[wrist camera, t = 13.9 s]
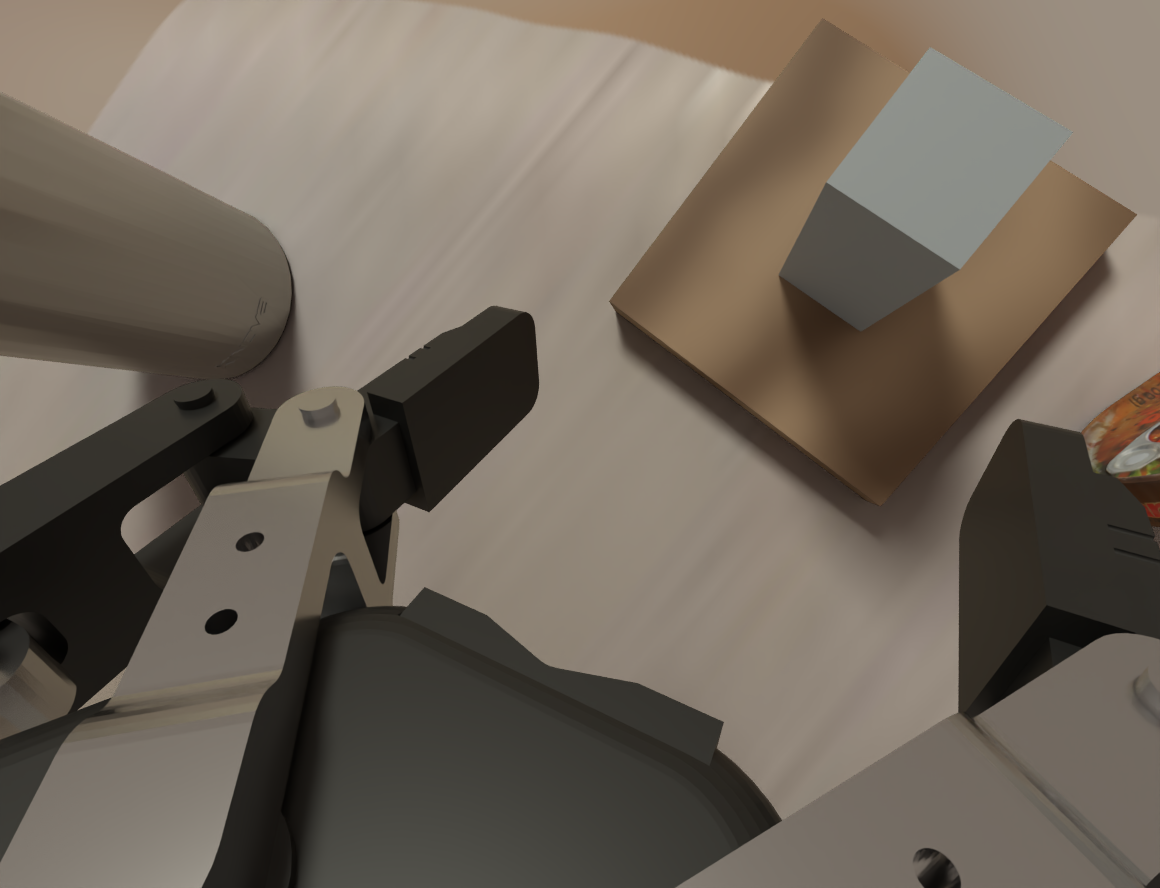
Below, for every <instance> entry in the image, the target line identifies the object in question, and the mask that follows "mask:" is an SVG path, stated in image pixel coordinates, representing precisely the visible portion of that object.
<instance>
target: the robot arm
mask: <svg viewBox="0 0 1160 888" xmlns="http://www.w3.org/2000/svg"><path fill="white" fill-rule="evenodd" d="M291 295H292V290H291V275H290V271H289V267H288V264H287V260H286V256H285V254H284V252H283V250H282V248H281V246H280V244H279V242H278V241H277V239H276V238H275V237H274V236H273V234H272V233H271V232H270V230H269V229H268V228H267V227H266V226H265V225H263V224H262V223H261V222H260V221H258V220H257V219H256V218H255V217H253V216H251V215H249V214H246V213H244V212H242V211H240V210H238V209H236V208H234V207H232V206H230V205H228V204H226V203H224V202H222V201H220V200H218V199H216V198H214V197H212V196H210V195H208V194H206V193H204V192H202V191H200V190H198V189H196V188H194V187H192V186H190V185H189V184H187V183H185V182H183V181H181V180H179V179H177V178H175V177H173V176H171V175H169V174H167V173H165V172H163V171H161V170H159V169H157V168H155V167H153V166H151V165H149V164H147V163H145V162H143V161H140V160H138V159H136V158H134V157H132V156H130V155H128V154H126V153H124V152H122V151H120V150H118V149H116V148H114V147H112V146H110V145H108V144H106V143H104V142H102V141H100V140H98V139H96V138H94V137H92V136H90V135H88V134H86V133H84V132H82V131H80V130H78V129H76V128H74V127H72V126H69V125H67V124H66V123H64V122H62V121H60V120H57V119H55V118H53V117H51V116H49V115H47V114H45V113H43V112H41V111H39V110H37V109H35V108H33V107H31V106H29V105H27V104H25V103H23V102H21V101H19V100H17V99H15V98H13V97H11V96H9V95H7V94H5V93H3V92H1V91H0V356H8V357H17V358H26V359H34V360H43V361H52V362H60V363H69V364H78V365H86V366H95V367H104V368H112V369H121V370H130V371H138V372H146V373H154V374H163V375H172V376H181V377H190V378H198V379H209V380H202V381H197V382H193V383H189V384H186V385H183V386H181V387H178V388H176V389H174V390H172V391H170V392H168V393H166V394H164V395H162V396H161V397H159V398H157V399H155V400H153V401H152V402H150V403H148V404H146V405H144V406H143V407H141V408H139V409H137V410H135V411H134V412H132V413H130V414H128V415H126V416H125V417H123V418H121V419H119V420H118V421H116V422H114V423H112V424H110V425H109V426H107V427H105V428H103V429H101V430H100V431H98V432H96V433H94V434H92V435H91V436H89V437H87V438H85V439H83V440H82V441H80V442H78V443H76V444H74V445H73V446H71V447H69V448H67V449H65V450H64V451H62V452H60V453H58V454H56V455H55V456H53V457H51V458H49V459H48V460H46V461H44V462H42V463H40V464H39V465H37V466H35V467H33V468H31V469H30V470H28V471H26V472H24V473H22V474H21V475H19V476H17V477H15V478H13V479H12V480H10V481H8V482H6V483H4V484H3V485H1V486H0V888H1160V550H1159V547H1158V544H1157V542H1154V541H1153V539H1154V537H1155V535H1154V532H1153V529H1152V526H1151V524H1150V521H1149V518H1148V515H1147V512H1146V509H1145V507H1144V506H1143V505H1142V504H1141V503H1140V502H1139V500H1138V499H1137V498H1136V497H1135V496H1134V495H1133V494H1132V493H1131V492H1130V491H1129V490H1128V489H1127V488H1126V487H1125V486H1124V485H1123V484H1122V483H1121V482H1120V481H1119V480H1118V478H1116V477H1111V476H1107V475H1103V474H1099V473H1094V472H1093V469H1092V465H1091V461H1090V458H1089V454H1088V450H1087V446H1086V442H1085V439H1084V436H1083V434H1082V433H1080V432H1076V431H1072V430H1067V429H1062V428H1058V427H1053V426H1048V425H1044V424H1039V423H1034V422H1030V421H1025V420H1021V419H1017V420H1015V421H1014V422H1013V423H1012V424H1011V425H1010V426H1009V428H1008V429H1007V431H1006V433H1005V434H1004V436H1003V438H1002V440H1001V442H1000V444H999V446H998V447H997V449H996V451H995V453H994V455H993V457H992V459H991V461H990V462H989V464H988V466H987V468H986V470H985V472H984V474H983V476H982V477H981V479H980V481H979V483H978V485H977V487H976V489H975V491H974V492H973V494H972V496H971V498H970V500H969V503H968V505H967V507H966V510H965V513H964V516H963V520H962V524H961V529H960V537H959V706H958V713H956V714H954V715H952V716H950V717H948V718H946V719H944V720H943V721H941V722H939V723H938V724H936V725H934V726H933V727H931V728H930V729H928V730H926V731H925V732H923V733H922V734H920V735H918V736H917V737H915V738H914V739H912V740H910V741H909V742H907V743H906V744H904V745H902V746H901V747H899V748H898V749H896V750H894V751H893V752H891V753H890V754H888V755H886V756H885V757H883V758H882V759H880V760H878V761H877V762H875V763H874V764H872V765H870V766H869V767H867V768H866V769H864V770H862V771H861V772H859V773H858V774H856V775H854V776H853V777H851V778H850V779H848V780H846V781H845V782H843V783H842V784H840V785H838V786H837V787H835V788H834V789H832V790H830V791H829V792H827V793H826V794H824V795H822V796H821V797H819V798H818V799H816V800H814V801H813V802H811V803H810V804H808V805H807V806H805V807H803V808H802V809H800V810H799V811H797V812H795V813H794V814H792V815H791V816H789V817H787V818H786V819H784V820H783V821H782V820H781V818H780V817H779V815H778V813H777V812H776V810H775V809H774V807H773V806H772V804H771V803H770V802H769V800H768V799H767V798H766V797H765V795H764V794H763V793H762V792H761V791H760V789H759V788H758V787H757V786H756V784H755V783H754V782H753V781H752V780H751V779H750V778H749V777H748V776H747V775H746V774H745V773H744V772H743V771H742V770H741V769H740V768H739V767H738V766H737V765H736V764H735V763H734V762H733V761H732V760H730V759H729V758H728V757H727V756H726V755H724V754H723V753H722V752H721V751H719V750H718V749H717V745H718V742H719V738H720V734H721V730H722V726H723V723H724V722H722V721H720V720H718V719H716V718H713V717H711V716H709V715H707V714H705V713H702V712H700V711H698V710H696V709H693V708H691V707H689V706H687V705H685V704H682V703H680V702H678V701H676V700H674V699H671V698H669V697H667V696H665V695H662V694H660V693H658V692H656V691H654V690H651V689H649V688H647V687H645V686H642V685H640V684H638V683H633V682H628V681H623V680H617V679H612V678H607V677H601V676H596V675H591V674H585V673H580V672H575V671H569V670H564V669H559V668H554V667H551V666H548V665H546V664H544V663H543V662H541V661H540V660H539V659H538V658H536V657H535V656H534V655H533V654H532V653H531V652H529V651H528V650H527V649H526V648H525V647H524V646H522V645H521V644H520V643H519V642H518V641H516V640H515V639H514V638H513V637H512V636H511V635H509V634H508V633H507V632H506V631H505V630H504V629H502V628H501V627H500V626H499V625H498V624H497V623H495V622H494V621H493V620H492V619H491V618H489V617H488V616H487V615H485V614H483V613H481V612H478V611H476V610H474V609H472V608H470V607H467V606H465V605H463V604H461V603H459V602H456V601H454V600H452V599H450V598H447V597H445V596H443V595H441V594H439V593H436V592H434V591H432V590H430V589H428V588H425V587H424V589H423V590H422V591H421V592H420V593H419V594H418V595H417V596H416V598H415V599H414V600H413V601H412V602H411V603H410V604H409V605H408V607H403V606H393V589H394V578H395V567H396V556H397V546H398V535H399V517H398V514H397V509H398V508H399V507H400V506H401V505H402V504H403V503H407V504H410V505H412V506H415V507H417V508H420V509H422V510H425V511H427V512H430V511H431V510H432V509H433V508H434V507H435V506H436V505H437V504H438V503H439V502H440V501H441V500H442V499H443V498H444V497H445V496H446V495H447V494H448V493H449V492H450V491H451V490H452V489H453V488H454V487H455V486H456V485H457V484H458V483H459V482H460V481H461V480H462V479H463V478H464V477H465V476H466V475H467V474H468V473H469V472H470V471H471V470H472V469H473V468H474V467H475V466H476V465H477V464H478V463H479V462H480V461H481V460H482V459H483V458H484V457H485V456H486V455H487V454H488V453H489V452H490V451H491V450H492V449H493V448H494V447H495V446H496V445H497V444H498V443H499V442H500V441H501V440H502V439H503V438H504V437H505V436H506V435H507V434H508V433H509V432H510V431H511V430H512V429H513V428H514V427H515V426H516V425H517V424H518V423H519V422H520V421H521V420H522V419H523V418H524V417H525V416H526V415H527V414H528V413H529V412H530V411H531V409H532V408H533V406H534V404H535V402H536V399H537V395H538V390H539V375H538V361H537V347H536V334H535V324H534V320H533V318H532V316H531V315H530V314H529V313H527V312H522V311H517V310H513V309H508V308H503V307H499V306H491V307H489V308H487V309H486V310H484V311H483V312H482V313H480V314H479V315H477V316H476V317H474V318H473V319H471V320H470V321H469V322H467V323H466V324H464V325H463V326H461V327H458V328H455V329H453V330H450V331H447V332H444V333H442V334H440V335H439V336H437V337H436V338H434V339H433V340H431V341H430V342H428V343H427V344H426V345H424V348H423V349H422V348H420V349H418V350H417V351H415V352H414V353H412V354H411V355H409V359H406V358H405V359H403V360H402V361H401V362H399V363H398V364H396V365H395V366H393V367H392V368H390V369H389V370H387V371H386V372H384V373H383V374H381V375H380V376H378V377H377V378H376V379H374V380H373V381H371V382H370V383H368V384H367V385H365V386H364V387H362V388H361V389H359V390H358V391H356V390H354V389H351V388H347V387H339V386H331V387H322V388H317V389H312V390H309V391H306V392H303V393H301V394H298V395H296V396H294V397H292V398H291V399H289V400H288V401H286V402H285V403H284V404H282V405H281V406H280V407H279V408H278V409H262V408H250V406H249V404H248V401H247V399H246V397H245V395H244V392H243V390H242V388H241V386H240V385H239V384H238V383H236V382H234V381H231V380H226V379H227V378H232V377H236V376H239V375H241V374H243V373H245V372H247V371H249V370H251V369H252V368H254V367H255V366H256V365H257V364H259V363H260V362H261V361H262V360H264V359H265V358H266V356H267V355H268V354H269V353H270V352H271V350H272V349H273V348H274V347H275V345H276V344H277V342H278V340H279V338H280V336H281V334H282V332H283V331H284V328H285V325H286V322H287V318H288V315H289V312H290V304H291ZM182 473H184V475H185V477H186V478H187V480H188V482H189V484H190V485H191V487H192V489H193V491H194V492H195V494H196V496H197V498H198V499H199V501H200V503H201V505H200V506H199V507H198V508H196V509H195V510H193V511H192V512H191V513H189V514H188V515H187V516H185V517H184V518H183V519H181V520H180V521H179V522H177V523H176V524H175V525H173V526H172V527H171V528H169V529H168V530H167V531H165V532H164V533H163V534H161V535H160V536H159V537H157V538H156V539H154V540H153V541H152V542H150V543H149V544H148V545H146V546H145V547H144V548H142V549H141V550H140V551H138V552H137V553H136V554H133V552H132V551H131V550H130V548H129V547H128V546H127V544H126V543H125V541H124V540H123V538H122V536H121V524H122V521H123V519H124V517H125V515H126V514H127V513H128V512H129V511H130V510H131V509H132V508H133V507H134V506H135V505H137V504H138V503H140V502H141V501H143V500H144V499H146V498H147V497H149V496H150V495H152V494H153V493H155V492H156V491H157V490H159V489H160V488H162V487H163V486H165V485H166V484H168V483H169V482H171V481H172V480H174V479H175V478H177V477H178V476H180V475H181V474H182ZM7 618H8V619H7ZM126 667H127V668H126ZM125 668H126V670H125V672H124V674H123V677H122V679H121V681H120V683H119V685H118V687H117V689H116V691H115V693H114V695H113V697H112V698H109V699H107V700H104V701H101V702H99V703H96V704H93V705H91V706H88V707H85V708H83V709H80V710H78V709H79V708H80V707H82V706H83V705H84V704H85V703H86V702H87V701H88V700H89V699H91V698H92V697H93V696H94V695H95V694H96V693H97V692H99V691H100V690H101V689H102V688H103V687H104V686H105V685H107V684H108V683H109V682H110V681H111V680H112V679H113V678H115V677H116V676H117V675H118V674H119V673H120V672H121V671H122V670H124V669H125Z"/></svg>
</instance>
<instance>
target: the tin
mask: <svg viewBox="0 0 1160 888" xmlns="http://www.w3.org/2000/svg"><path fill="white" fill-rule="evenodd" d="M1081 433H1082V434H1083V436H1084V439H1085V442H1086V446H1087V450H1088V454H1089V458H1090V461H1091V465H1092V469H1093V472H1094V473H1099V474H1103V475H1107V476H1111V477H1116V478H1118V480H1119V481H1120V482H1121V483H1122V484H1123V485H1124V486H1125V487H1126V488H1127V489H1128V490H1129V491H1130V492H1131V493H1132V494H1133V495H1134V496H1135V497H1136V498H1137V499H1138V500H1139V502H1140V503H1141V504H1142V505H1143V506H1144V507H1145V509H1146V512H1147V515H1148V518H1149V521H1150V524H1151V526H1155V527H1160V372H1159V373H1157V374H1156V375H1155V376H1153V377H1152V378H1150V379H1149V380H1147V381H1146V382H1144V383H1143V384H1142V385H1140V386H1139V387H1137V388H1136V389H1134V390H1133V391H1131V392H1130V393H1128V394H1127V395H1125V396H1124V397H1122V398H1121V399H1120V400H1118V401H1117V402H1115V403H1114V404H1112V405H1111V406H1110V407H1108V408H1107V409H1106V410H1104V411H1103V412H1102V413H1100V414H1099V415H1098V416H1097V417H1096V418H1094V419H1093V421H1092V422H1091V423H1090V424H1089V425H1088V426H1087V427H1086V428H1085V429H1084V430H1083V431H1082V432H1081Z"/></svg>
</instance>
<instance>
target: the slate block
mask: <svg viewBox="0 0 1160 888" xmlns="http://www.w3.org/2000/svg"><path fill="white" fill-rule="evenodd" d="M1072 133H1073V132H1072V131H1070V130H1069V129H1067V128H1065V127H1064V126H1062V125H1060V124H1058V123H1057V122H1055V121H1053V120H1052V119H1050V118H1048V117H1047V116H1045V115H1043V114H1042V113H1040V112H1038V111H1037V110H1035V109H1033V108H1031V107H1030V106H1028V105H1027V104H1025V103H1023V102H1022V101H1020V100H1018V99H1016V98H1014V97H1013V96H1011V95H1010V94H1008V93H1006V92H1005V91H1003V90H1001V89H1000V88H998V87H996V86H994V85H993V84H991V83H990V82H988V81H986V80H984V79H983V78H981V77H979V76H978V75H976V74H974V73H973V72H971V71H969V70H968V69H966V68H964V67H963V66H961V65H959V64H958V63H956V62H954V61H952V60H951V59H949V58H947V57H946V56H944V55H943V54H941V53H939V52H937V51H936V50H934V49H932V48H931V47H930V48H929V49H928V51H927V52H926V53H925V55H924V56H923V57H922V59H921V60H920V61H919V62H918V64H917V65H916V66H915V68H914V69H913V70H912V71H911V73H910V74H909V75H908V77H907V78H906V79H905V80H904V82H903V83H902V84H901V86H900V87H899V88H898V90H897V91H896V92H895V93H894V95H893V96H892V97H891V99H890V100H889V101H888V103H887V104H886V105H885V106H884V108H883V109H882V110H881V112H880V113H879V114H878V116H877V117H876V118H875V119H874V121H873V122H872V123H871V125H870V126H869V127H868V129H867V130H866V131H865V132H864V134H863V135H862V136H861V138H860V139H859V140H858V142H857V143H856V144H855V145H854V147H853V148H852V149H851V151H850V152H849V153H848V155H847V156H846V157H845V158H844V160H843V161H842V162H841V164H840V165H839V166H838V167H837V169H836V170H835V171H834V173H833V174H832V175H831V177H830V178H829V179H828V180H827V182H826V184H825V185H824V187H823V189H822V191H821V193H820V195H819V197H818V199H817V201H816V203H815V205H814V207H813V209H812V211H811V213H810V215H809V217H808V219H807V220H806V222H805V224H804V226H803V228H802V230H801V232H800V234H799V236H798V238H797V240H796V242H795V244H794V246H793V248H792V250H791V252H790V253H789V255H788V257H787V259H786V261H785V263H784V265H783V267H782V269H781V271H780V273H779V276H781V277H782V278H784V279H785V280H786V281H788V282H789V283H791V284H792V285H794V286H795V287H797V288H798V289H800V290H801V291H802V292H804V293H805V294H807V295H808V296H810V297H811V298H813V299H814V300H815V301H817V302H818V303H820V304H821V305H823V306H824V307H826V308H827V309H828V310H830V311H831V312H833V313H834V314H836V315H837V316H839V317H840V318H842V319H843V320H844V321H846V322H847V323H849V324H850V325H852V326H853V327H855V328H856V329H857V330H859V331H860V332H861V331H863V330H864V329H866V328H868V327H869V326H871V325H872V324H874V323H876V322H877V321H879V320H880V319H882V318H884V317H885V316H887V315H888V314H890V313H892V312H893V311H895V310H896V309H898V308H900V307H901V306H903V305H904V304H906V303H908V302H909V301H911V300H912V299H914V298H916V297H917V296H919V295H920V294H922V293H924V292H925V291H927V290H928V289H930V288H931V287H933V286H935V285H936V284H938V283H939V282H941V281H943V280H944V279H946V278H947V277H949V276H951V275H952V274H954V273H955V272H957V271H959V270H960V269H961V268H962V267H963V265H964V264H965V263H966V262H967V261H968V259H969V258H970V257H971V256H972V254H973V253H974V252H975V251H976V250H977V248H978V247H979V246H980V245H981V244H982V242H983V241H984V240H985V239H986V237H987V236H988V235H989V234H990V233H991V231H992V230H993V229H994V228H995V227H996V225H997V224H998V223H999V222H1000V221H1001V219H1002V218H1003V217H1004V216H1005V214H1006V213H1007V212H1008V211H1009V210H1010V208H1011V207H1012V206H1013V205H1014V204H1015V202H1016V201H1017V200H1018V199H1019V197H1020V196H1021V195H1022V194H1023V193H1024V191H1025V190H1026V189H1027V188H1028V187H1029V185H1030V184H1031V183H1032V182H1033V180H1034V179H1035V178H1036V177H1037V176H1038V174H1039V173H1040V172H1041V171H1042V170H1043V168H1044V167H1045V166H1046V165H1047V163H1048V162H1049V161H1050V160H1051V159H1052V157H1053V156H1054V155H1055V154H1056V152H1057V151H1058V150H1059V149H1060V148H1061V147H1062V145H1063V144H1064V143H1065V142H1066V140H1067V139H1068V138H1069V137H1070V136H1071V134H1072Z"/></svg>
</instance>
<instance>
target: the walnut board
mask: <svg viewBox="0 0 1160 888" xmlns="http://www.w3.org/2000/svg"><path fill="white" fill-rule="evenodd" d="M909 74H910V72H908V71H906V70H905V69H903V68H901V67H900V66H898V65H897V64H895V63H894V62H892V61H890V60H889V59H887V58H886V57H884V56H882V55H881V54H879V53H878V52H876V51H874V50H873V49H871V48H869V47H868V46H866V45H865V44H863V43H861V42H860V41H858V40H857V39H855V38H853V37H852V36H850V35H849V34H847V33H845V32H844V31H842V30H841V29H839V28H837V27H836V26H834V25H833V24H831V23H829V22H828V21H826V20H825V19H821V21H820V22H819V24H818V25H817V26H816V27H815V29H814V30H813V32H812V33H811V34H810V35H809V37H808V38H807V40H806V41H805V42H804V43H803V45H802V46H801V48H800V49H799V50H798V51H797V53H796V54H795V55H794V57H793V58H792V59H791V61H790V62H789V63H788V65H787V66H786V67H785V69H784V70H783V72H782V73H781V74H780V75H779V77H778V78H777V79H776V80H775V82H774V83H773V84H772V86H771V87H770V88H769V90H768V91H767V92H766V94H765V95H764V96H763V98H762V99H761V100H760V102H759V103H758V104H757V106H756V107H755V108H754V110H753V111H752V112H751V114H750V115H749V116H748V118H747V119H746V120H745V122H744V123H743V124H742V126H741V127H740V128H739V130H738V131H737V132H736V134H735V135H734V136H733V138H732V139H731V140H730V142H729V143H728V144H727V146H726V147H725V148H724V149H723V151H722V152H721V153H720V155H719V156H718V157H717V159H716V160H715V161H714V163H713V164H712V165H711V167H710V168H709V169H708V171H707V172H706V173H705V175H704V176H703V177H702V179H701V180H700V181H699V183H698V184H697V185H696V187H695V188H694V189H693V191H692V192H691V193H690V195H689V196H688V197H687V199H686V200H685V201H684V203H683V204H682V205H681V207H680V208H679V209H678V211H677V212H676V213H675V214H674V216H673V217H672V218H671V220H670V221H669V222H668V224H667V225H666V226H665V228H664V229H663V230H662V232H661V233H660V234H659V236H658V237H657V238H656V240H655V241H654V242H653V244H652V245H651V246H650V248H649V249H648V250H647V252H646V253H645V254H644V256H643V257H642V258H641V260H640V261H639V262H638V264H637V265H636V266H635V268H634V269H633V270H632V272H631V273H630V274H629V276H628V277H627V278H626V280H625V281H624V282H623V283H622V285H621V286H620V287H619V289H618V290H617V291H616V293H615V294H614V295H613V297H612V298H611V299H610V301H609V302H610V303H611V305H612V306H613V308H614V309H615V311H616V312H618V313H619V314H620V315H622V316H623V317H624V318H626V319H627V320H628V321H629V322H631V323H632V324H633V325H635V326H636V327H637V328H639V329H640V330H641V331H643V332H644V333H645V334H647V335H648V336H649V337H651V338H652V339H653V340H655V341H656V342H657V343H659V344H660V345H661V346H662V347H664V348H665V349H666V350H668V351H669V352H670V353H672V354H673V355H674V356H676V357H677V358H678V359H680V360H681V361H682V362H684V363H685V364H686V365H688V366H689V367H690V368H692V369H693V370H694V371H696V372H697V373H698V374H699V375H701V376H702V377H703V378H705V379H706V380H707V381H709V382H710V383H711V384H713V385H714V386H715V387H717V388H718V389H719V390H721V391H722V392H723V393H725V394H726V395H727V396H729V397H730V398H731V399H733V400H734V401H735V402H736V403H738V404H739V405H740V406H742V407H743V408H744V409H746V410H747V411H748V412H750V413H751V414H752V415H754V416H755V417H756V418H758V419H759V420H760V421H762V422H763V423H764V424H766V425H767V426H768V427H769V428H771V429H772V430H773V431H775V432H776V433H777V434H779V435H780V436H781V437H783V438H784V439H785V440H787V441H788V442H789V443H791V444H792V445H793V446H795V447H796V448H797V449H799V450H800V451H801V452H803V453H804V454H805V455H806V456H808V457H809V458H810V459H812V460H813V461H814V462H816V463H817V464H818V465H820V466H821V467H822V468H824V469H825V470H826V471H828V472H829V473H830V474H832V475H833V476H834V477H836V478H837V479H838V480H840V481H841V482H842V483H843V484H845V485H846V486H847V487H849V488H850V489H851V490H853V491H854V492H855V493H857V494H858V495H859V496H861V497H862V498H863V499H865V500H866V501H868V502H871V503H873V504H876V505H878V506H881V505H882V504H883V503H884V502H885V501H886V500H887V499H888V497H889V496H890V495H891V494H892V493H893V492H894V491H895V489H896V488H897V487H898V486H899V485H900V484H901V483H902V481H903V480H904V479H905V478H906V477H907V476H908V475H909V474H910V472H911V471H912V470H913V469H914V468H915V467H916V466H917V464H918V463H919V462H920V461H921V460H922V459H923V458H924V456H925V455H926V454H927V453H928V452H929V451H930V450H931V448H932V447H933V446H934V445H935V444H936V443H937V442H938V441H939V439H940V438H941V437H942V436H943V435H944V434H945V433H946V431H947V430H948V429H949V428H950V427H951V426H952V425H953V423H954V422H955V421H956V420H957V419H958V418H959V417H960V416H961V414H962V413H963V412H964V411H965V410H966V409H967V408H968V406H969V405H970V404H971V403H972V402H973V401H974V400H975V398H976V397H977V396H978V395H979V394H980V393H981V392H982V390H983V389H984V388H985V387H986V386H987V385H988V384H989V383H990V381H991V380H992V379H993V378H994V377H995V376H996V375H997V373H998V372H999V371H1000V370H1001V369H1002V368H1003V367H1004V365H1005V364H1006V363H1007V362H1008V361H1009V360H1010V359H1011V358H1012V356H1013V355H1014V354H1015V353H1016V352H1017V351H1018V350H1019V348H1020V347H1021V346H1022V345H1023V344H1024V343H1025V342H1026V340H1027V339H1028V338H1029V337H1030V336H1031V335H1032V334H1033V333H1034V331H1035V330H1036V329H1037V328H1038V327H1039V326H1040V325H1041V323H1042V322H1043V321H1044V320H1045V319H1046V318H1047V317H1048V315H1049V314H1050V313H1051V312H1052V311H1053V310H1054V309H1055V307H1056V306H1057V305H1058V304H1059V303H1060V302H1061V301H1062V300H1063V298H1064V297H1065V296H1066V295H1067V294H1068V293H1069V292H1070V290H1071V289H1072V288H1073V287H1074V286H1075V285H1076V284H1077V282H1078V281H1079V280H1080V279H1081V278H1082V277H1083V276H1084V275H1085V273H1086V272H1087V271H1088V270H1089V269H1090V268H1091V267H1092V265H1093V264H1094V263H1095V262H1096V261H1097V260H1098V259H1099V257H1100V256H1101V255H1102V254H1103V253H1104V252H1105V251H1106V249H1107V248H1108V247H1109V246H1110V245H1111V244H1112V243H1113V242H1114V240H1115V239H1116V238H1117V237H1118V236H1119V235H1120V234H1121V232H1122V231H1123V230H1124V229H1125V228H1126V227H1127V226H1128V224H1129V223H1130V222H1131V221H1132V220H1133V219H1134V218H1135V217H1136V215H1137V214H1135V213H1134V212H1132V211H1131V210H1129V209H1127V208H1126V207H1124V206H1123V205H1121V204H1119V203H1118V202H1116V201H1115V200H1113V199H1111V198H1110V197H1108V196H1107V195H1105V194H1103V193H1102V192H1100V191H1098V190H1097V189H1095V188H1094V187H1092V186H1091V185H1089V184H1087V183H1086V182H1084V181H1083V180H1081V179H1079V178H1078V177H1076V176H1075V175H1073V174H1071V173H1070V172H1068V171H1067V170H1065V169H1063V168H1062V167H1060V166H1059V165H1057V164H1055V163H1053V162H1052V161H1051V160H1050V161H1049V162H1048V163H1047V165H1046V166H1045V167H1044V168H1043V170H1042V171H1041V172H1040V173H1039V174H1038V176H1037V177H1036V178H1035V179H1034V180H1033V182H1032V183H1031V184H1030V185H1029V187H1028V188H1027V189H1026V190H1025V191H1024V193H1023V194H1022V195H1021V196H1020V197H1019V199H1018V200H1017V201H1016V202H1015V204H1014V205H1013V206H1012V207H1011V208H1010V210H1009V211H1008V212H1007V213H1006V214H1005V216H1004V217H1003V218H1002V219H1001V221H1000V222H999V223H998V224H997V225H996V227H995V228H994V229H993V230H992V231H991V233H990V234H989V235H988V236H987V237H986V239H985V240H984V241H983V242H982V244H981V245H980V246H979V247H978V248H977V250H976V251H975V252H974V253H973V254H972V256H971V257H970V258H969V259H968V261H967V262H966V263H965V264H964V265H963V267H962V268H961V269H960V270H959V271H957V272H955V273H954V274H952V275H951V276H949V277H947V278H946V279H944V280H943V281H941V282H939V283H938V284H936V285H935V286H933V287H931V288H930V289H928V290H927V291H925V292H924V293H922V294H920V295H919V296H917V297H916V298H914V299H912V300H911V301H909V302H908V303H906V304H904V305H903V306H901V307H900V308H898V309H896V310H895V311H893V312H892V313H890V314H888V315H887V316H885V317H884V318H882V319H880V320H879V321H877V322H876V323H874V324H872V325H871V326H869V327H868V328H866V329H864V330H863V331H861V332H860V331H859V330H857V329H856V328H855V327H853V326H852V325H850V324H849V323H847V322H846V321H844V320H843V319H842V318H840V317H839V316H837V315H836V314H834V313H833V312H831V311H830V310H828V309H827V308H826V307H824V306H823V305H821V304H820V303H818V302H817V301H815V300H814V299H813V298H811V297H810V296H808V295H807V294H805V293H804V292H802V291H801V290H800V289H798V288H797V287H795V286H794V285H792V284H791V283H789V282H788V281H786V280H785V279H784V278H782V277H781V276H779V273H780V271H781V269H782V267H783V265H784V263H785V261H786V259H787V257H788V255H789V253H790V252H791V250H792V248H793V246H794V244H795V242H796V240H797V238H798V236H799V234H800V232H801V230H802V228H803V226H804V224H805V222H806V220H807V219H808V217H809V215H810V213H811V211H812V209H813V207H814V205H815V203H816V201H817V199H818V197H819V195H820V193H821V191H822V189H823V187H824V185H825V184H826V182H827V180H828V179H829V178H830V177H831V175H832V174H833V173H834V171H835V170H836V169H837V167H838V166H839V165H840V164H841V162H842V161H843V160H844V158H845V157H846V156H847V155H848V153H849V152H850V151H851V149H852V148H853V147H854V145H855V144H856V143H857V142H858V140H859V139H860V138H861V136H862V135H863V134H864V132H865V131H866V130H867V129H868V127H869V126H870V125H871V123H872V122H873V121H874V119H875V118H876V117H877V116H878V114H879V113H880V112H881V110H882V109H883V108H884V106H885V105H886V104H887V103H888V101H889V100H890V99H891V97H892V96H893V95H894V93H895V92H896V91H897V90H898V88H899V87H900V86H901V84H902V83H903V82H904V80H905V79H906V78H907V77H908V75H909Z"/></svg>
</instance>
